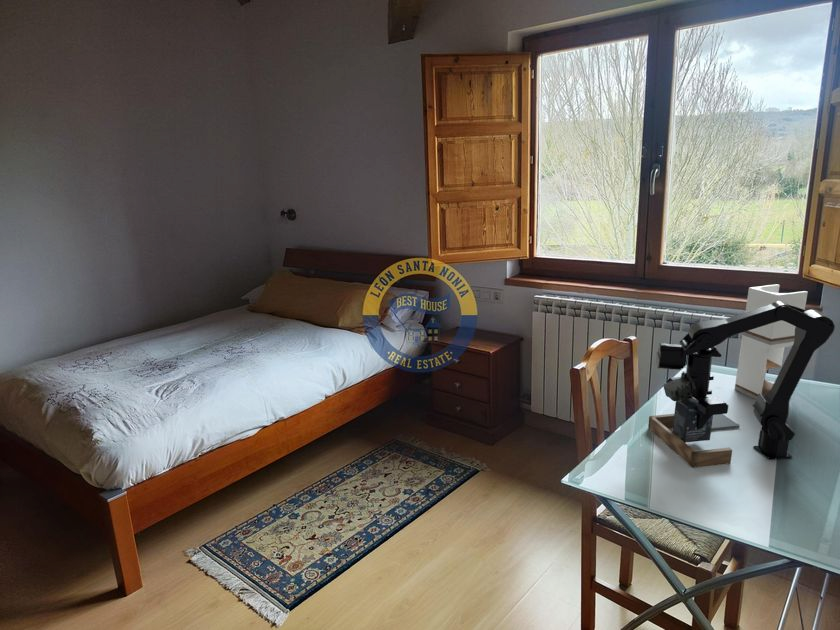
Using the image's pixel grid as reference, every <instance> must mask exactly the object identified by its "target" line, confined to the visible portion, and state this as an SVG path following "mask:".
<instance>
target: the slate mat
mask: <svg viewBox="0 0 840 630" xmlns="http://www.w3.org/2000/svg"><path fill="white" fill-rule="evenodd" d="M731 429H732V430H733V429H734V430H735V429H740V425H739V424H738V423H737V422H735V421H734V420H732V419H731V418H729V417H728V416H726V414H718V415H713V419H712V427H711V432H712V431H720V430H721V431H722V430H723V431H724V430H731Z"/></svg>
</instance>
